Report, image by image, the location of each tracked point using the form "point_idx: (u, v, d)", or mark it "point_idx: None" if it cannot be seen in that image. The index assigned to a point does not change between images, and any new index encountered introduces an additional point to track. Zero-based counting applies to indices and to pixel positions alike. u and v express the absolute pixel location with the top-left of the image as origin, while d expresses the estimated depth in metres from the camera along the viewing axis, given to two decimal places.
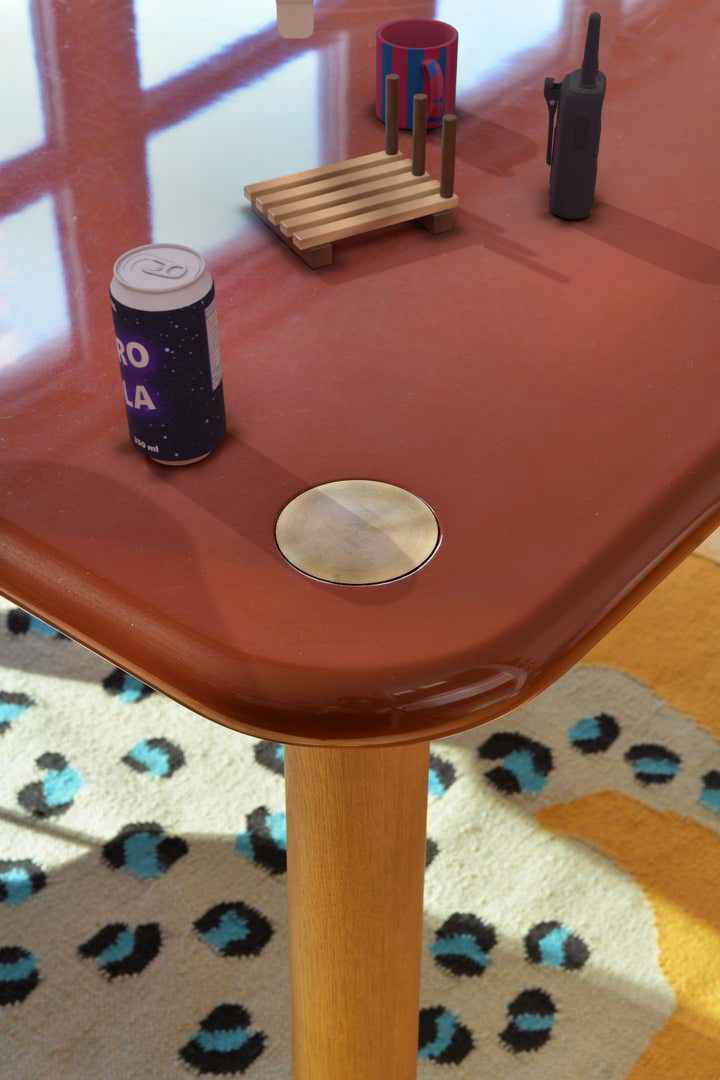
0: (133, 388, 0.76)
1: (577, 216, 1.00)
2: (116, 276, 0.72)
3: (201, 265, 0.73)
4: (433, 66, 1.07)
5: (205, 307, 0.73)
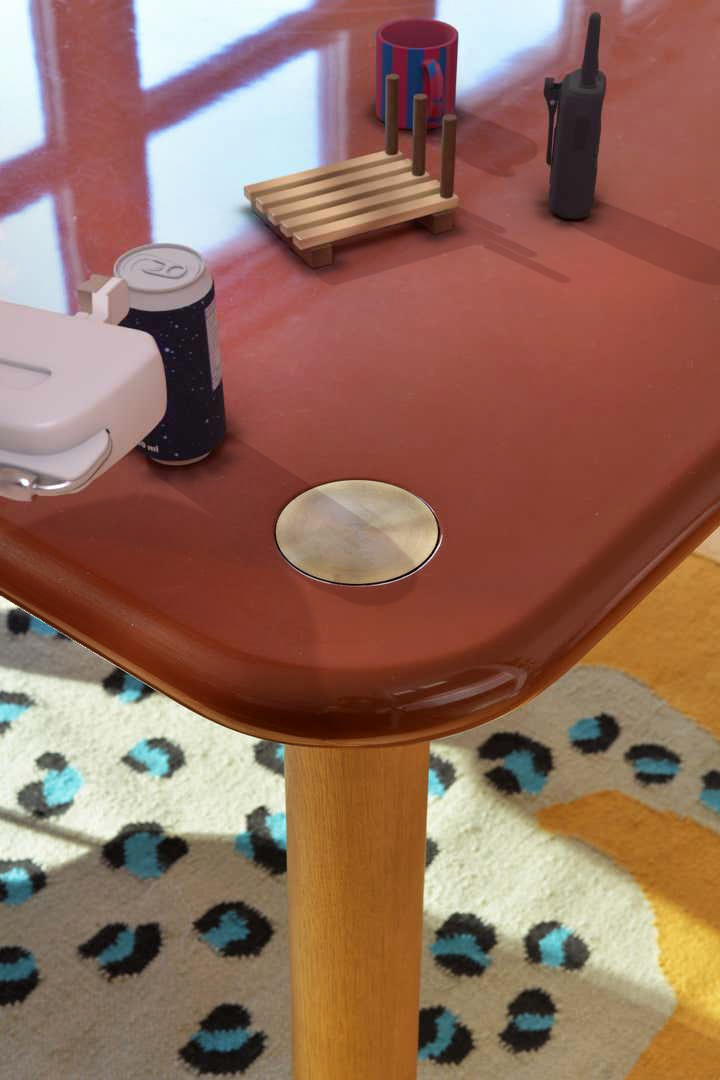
0: None
1: (577, 216, 1.00)
2: (116, 276, 0.72)
3: (201, 265, 0.73)
4: (433, 66, 1.07)
5: (205, 307, 0.73)
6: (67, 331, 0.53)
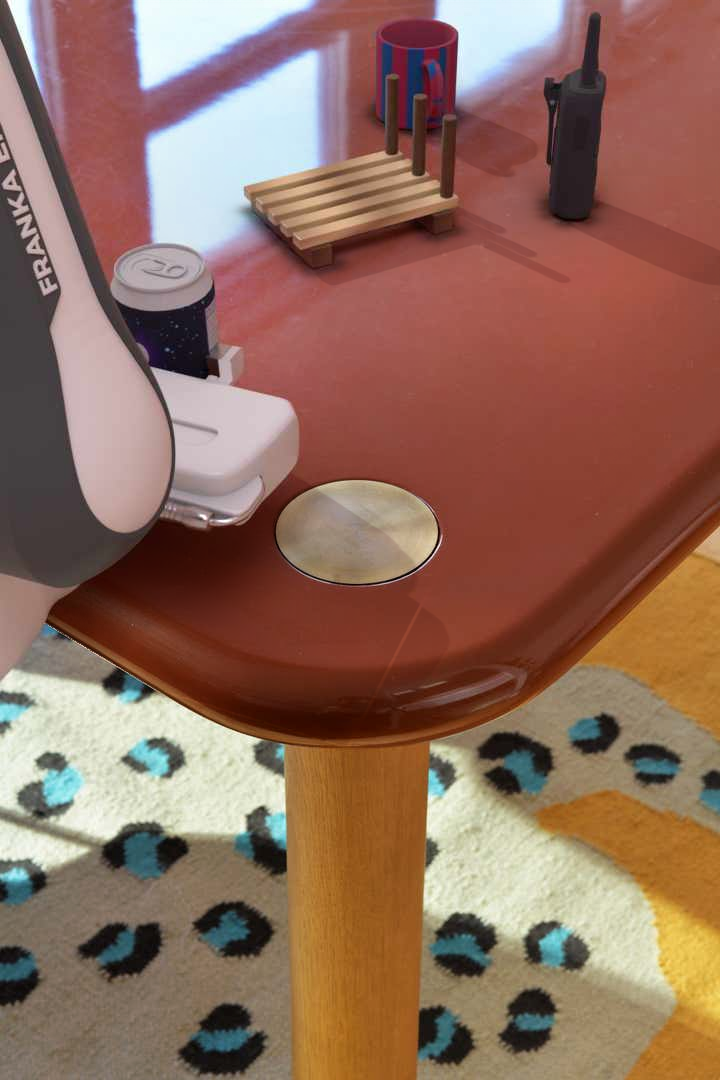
0: None
1: (577, 216, 1.00)
2: (116, 276, 0.72)
3: (201, 265, 0.73)
4: (433, 66, 1.07)
5: (205, 307, 0.73)
6: (226, 398, 0.70)
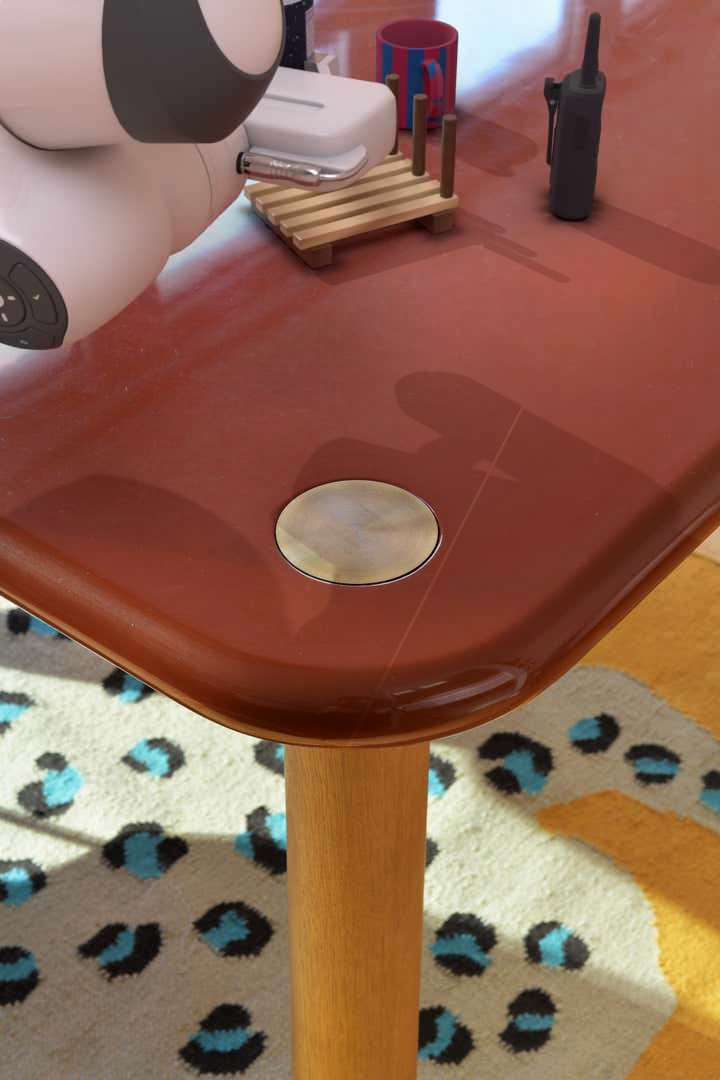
0: None
1: (577, 216, 1.00)
2: None
3: None
4: (433, 66, 1.07)
5: (306, 9, 0.78)
6: (328, 82, 0.74)
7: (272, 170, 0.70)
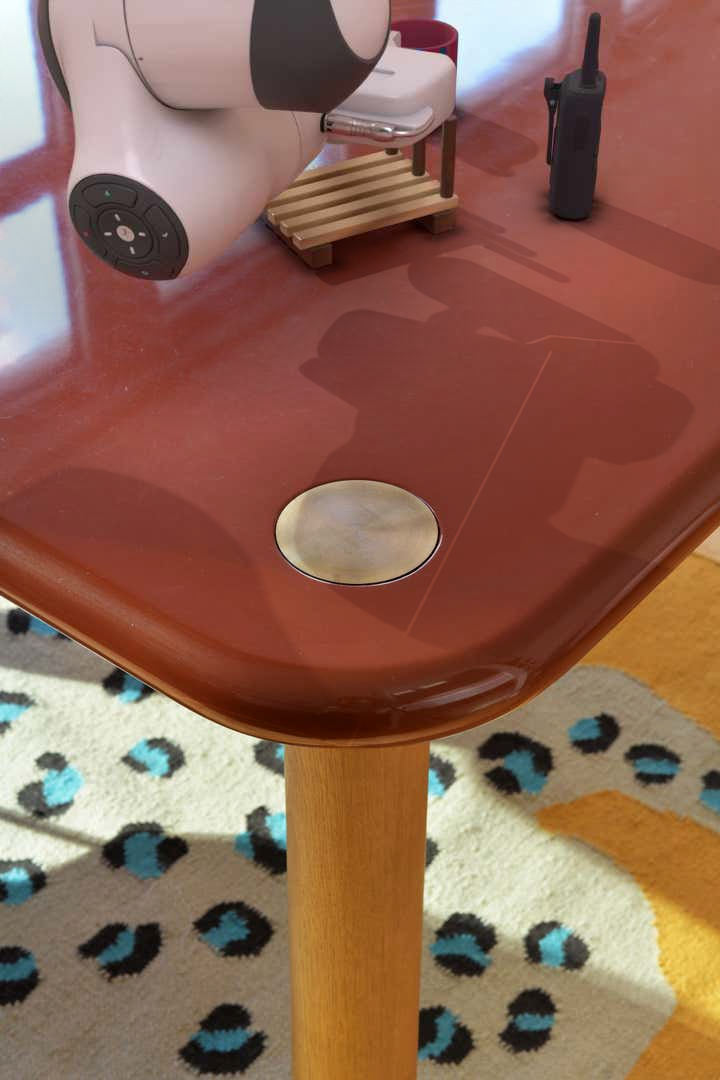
0: None
1: (577, 216, 1.00)
2: None
3: None
4: None
5: None
6: (397, 53, 0.85)
7: (352, 128, 0.81)
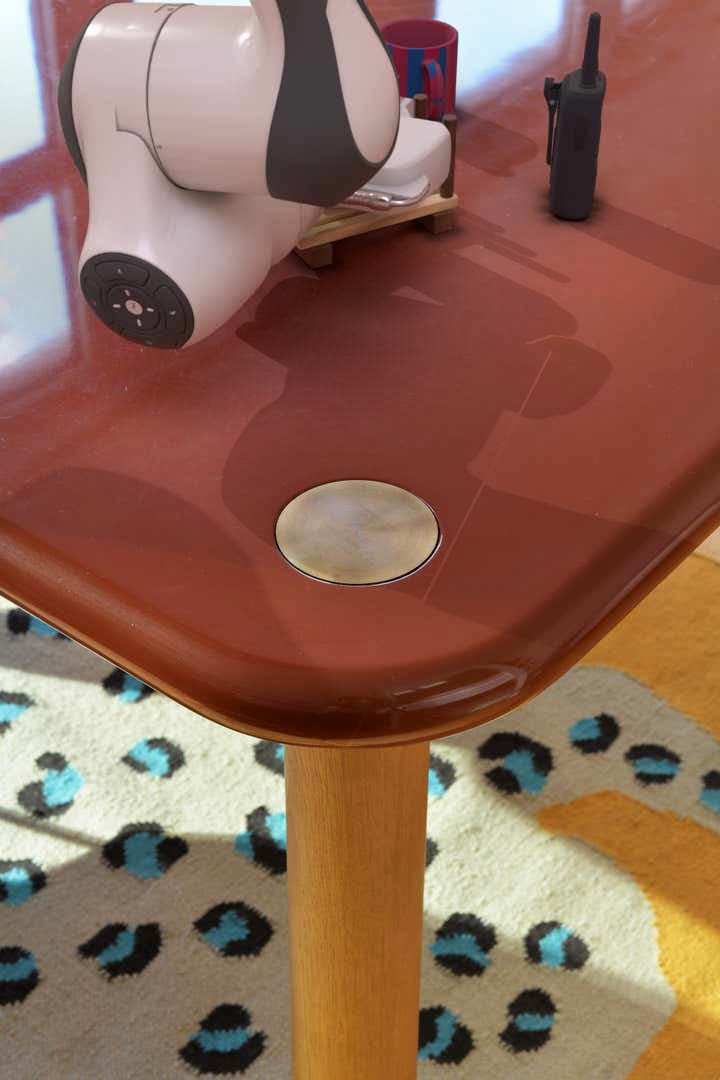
0: None
1: (577, 216, 1.00)
2: None
3: None
4: (433, 66, 1.07)
5: None
6: None
7: (350, 197, 0.84)
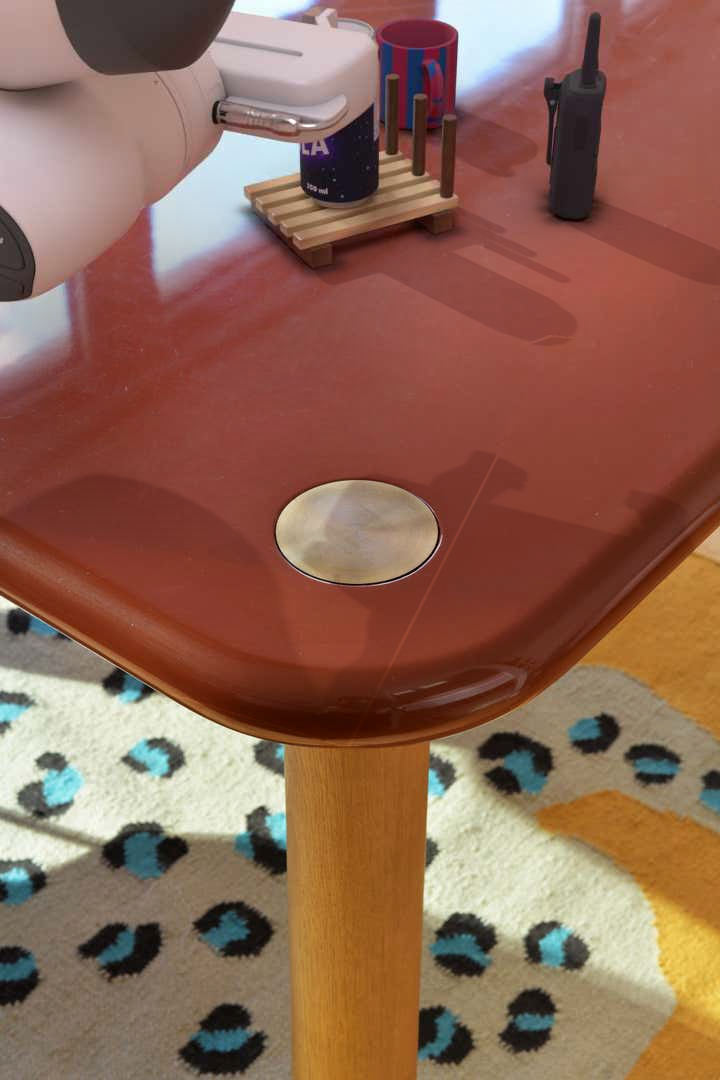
0: None
1: (577, 216, 1.00)
2: None
3: (370, 32, 0.92)
4: (433, 66, 1.07)
5: None
6: (308, 31, 0.72)
7: (249, 119, 0.68)
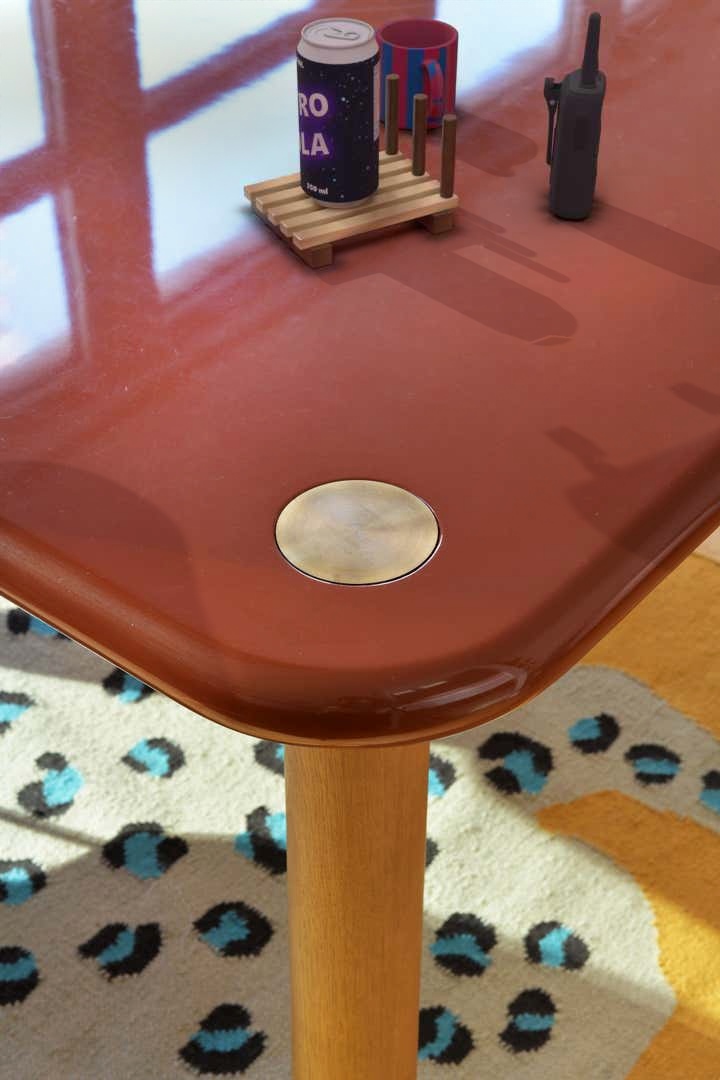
0: (311, 137, 0.94)
1: (577, 216, 1.00)
2: (305, 37, 0.90)
3: (370, 32, 0.92)
4: (433, 66, 1.07)
5: (374, 65, 0.91)
6: None
7: None
